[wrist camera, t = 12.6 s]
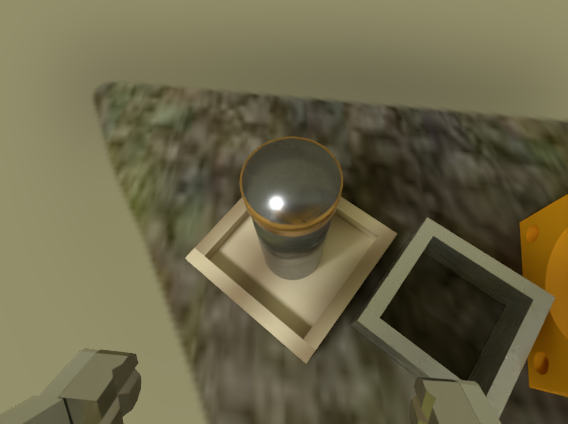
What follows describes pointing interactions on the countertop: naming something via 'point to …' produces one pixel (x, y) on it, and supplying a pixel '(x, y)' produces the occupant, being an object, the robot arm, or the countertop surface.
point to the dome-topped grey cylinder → (291, 202)
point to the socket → (482, 274)
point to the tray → (293, 293)
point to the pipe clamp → (555, 280)
